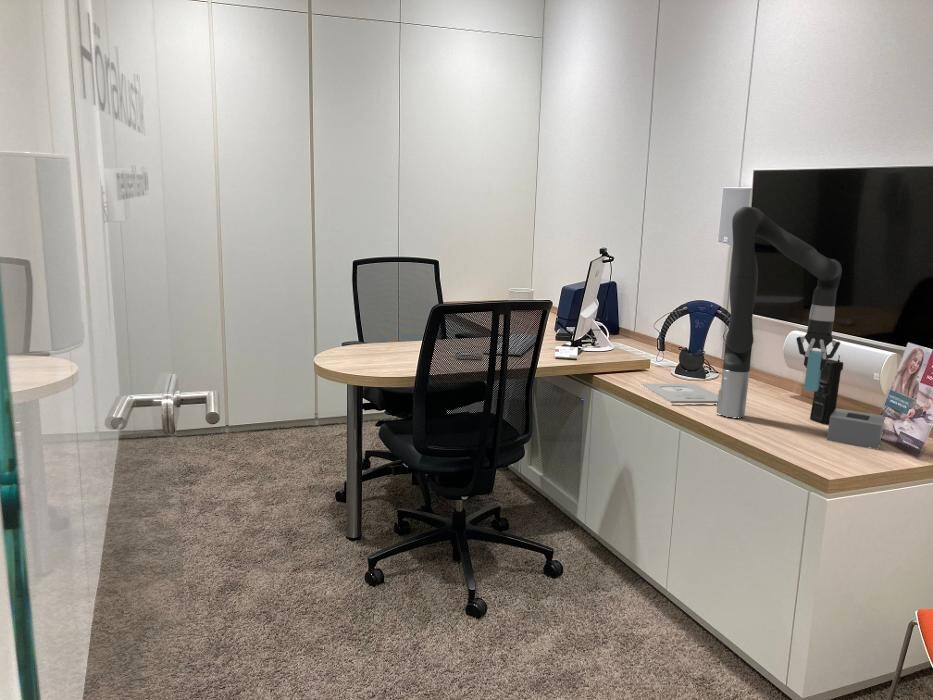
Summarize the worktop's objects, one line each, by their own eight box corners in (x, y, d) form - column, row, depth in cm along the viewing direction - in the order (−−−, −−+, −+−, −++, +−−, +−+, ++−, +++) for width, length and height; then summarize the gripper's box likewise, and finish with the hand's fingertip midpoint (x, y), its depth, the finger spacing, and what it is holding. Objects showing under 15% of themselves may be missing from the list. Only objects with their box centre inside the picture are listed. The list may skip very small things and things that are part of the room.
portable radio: (806, 418, 270) (814, 352, 266) (818, 417, 272) (827, 351, 268) (823, 424, 263) (832, 356, 258) (835, 423, 265) (845, 355, 261)
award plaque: (670, 406, 281) (670, 400, 281) (639, 388, 310) (639, 383, 310) (729, 406, 286) (730, 400, 285) (693, 388, 315) (693, 383, 314)
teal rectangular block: (803, 389, 250) (808, 352, 247) (806, 387, 254) (811, 350, 252) (816, 391, 248) (821, 353, 245) (818, 389, 252) (824, 351, 249)
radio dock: (826, 440, 243) (829, 416, 242) (833, 430, 255) (836, 408, 254) (878, 449, 235) (881, 425, 234) (882, 439, 247) (885, 416, 246)
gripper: (796, 317, 247) (789, 366, 250) (843, 322, 239) (835, 373, 243) (800, 315, 253) (794, 363, 256) (846, 320, 246) (838, 370, 249)
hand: (814, 368), depth 249 cm, fingers closed on teal rectangular block, 4 cm apart
